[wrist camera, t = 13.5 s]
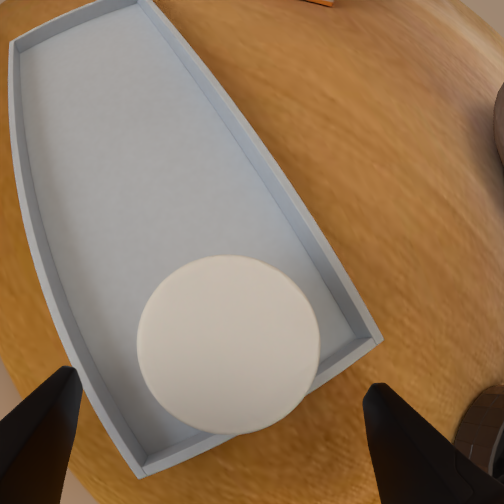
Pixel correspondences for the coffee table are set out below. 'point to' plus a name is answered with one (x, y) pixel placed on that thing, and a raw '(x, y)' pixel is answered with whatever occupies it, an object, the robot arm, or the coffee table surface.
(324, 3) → the supplement box
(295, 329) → the pill bottle
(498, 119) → the clay pot
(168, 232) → the serving dish
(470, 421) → the charcoal bowl
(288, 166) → the coffee table surface
